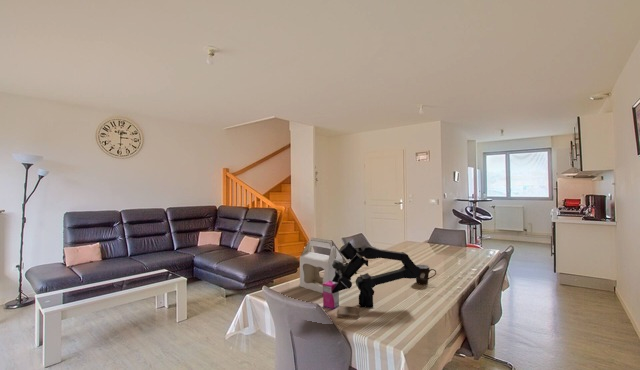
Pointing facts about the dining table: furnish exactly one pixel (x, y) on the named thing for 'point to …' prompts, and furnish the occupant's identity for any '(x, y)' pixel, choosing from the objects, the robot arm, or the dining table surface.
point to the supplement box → (330, 295)
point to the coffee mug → (424, 274)
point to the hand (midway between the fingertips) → (331, 289)
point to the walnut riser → (348, 312)
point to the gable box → (317, 264)
